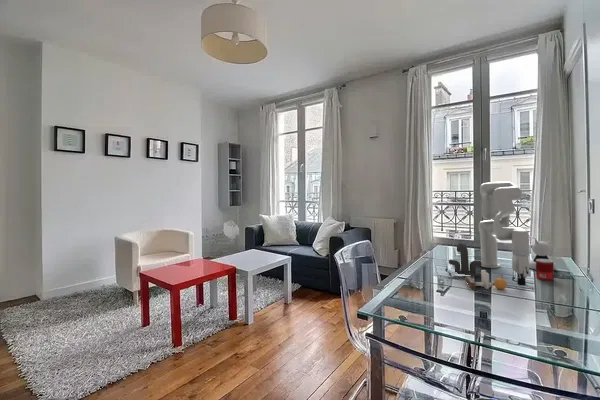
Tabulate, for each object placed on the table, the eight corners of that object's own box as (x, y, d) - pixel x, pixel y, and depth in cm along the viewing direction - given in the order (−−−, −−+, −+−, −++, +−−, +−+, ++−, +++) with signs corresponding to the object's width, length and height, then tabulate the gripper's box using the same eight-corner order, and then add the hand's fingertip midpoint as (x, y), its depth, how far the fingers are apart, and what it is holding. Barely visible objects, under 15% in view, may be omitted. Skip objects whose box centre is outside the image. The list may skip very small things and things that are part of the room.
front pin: (491, 286, 166) (474, 285, 169) (491, 282, 166) (474, 281, 169) (492, 287, 164) (475, 287, 167) (492, 283, 164) (475, 283, 166)
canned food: (557, 280, 167) (556, 261, 167) (541, 280, 169) (540, 262, 168) (548, 276, 175) (548, 258, 174) (533, 276, 177) (532, 258, 176)
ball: (494, 275, 162) (504, 276, 162) (490, 283, 165) (500, 284, 165) (500, 283, 157) (511, 283, 157) (495, 291, 160) (506, 292, 160)
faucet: (475, 269, 197) (474, 240, 196) (483, 277, 182) (482, 245, 181) (445, 269, 202) (444, 240, 201) (451, 276, 186) (449, 245, 185)
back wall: (465, 282, 174) (465, 275, 174) (469, 282, 174) (469, 276, 173) (471, 289, 163) (471, 282, 163) (475, 289, 162) (475, 282, 162)
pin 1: (481, 284, 170) (480, 269, 170) (485, 284, 169) (485, 269, 169) (482, 285, 168) (481, 271, 167) (487, 285, 167) (486, 271, 167)
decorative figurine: (542, 264, 198) (541, 235, 197) (562, 270, 183) (562, 239, 182) (521, 266, 197) (520, 236, 196) (539, 272, 182) (539, 241, 181)
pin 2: (483, 287, 165) (483, 272, 165) (488, 287, 164) (488, 272, 164) (485, 288, 163) (484, 273, 162) (490, 289, 162) (489, 274, 162)
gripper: (507, 249, 168) (508, 280, 169) (518, 255, 154) (519, 289, 155) (522, 249, 166) (523, 280, 167) (535, 255, 152) (536, 290, 153)
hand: (521, 285), depth 161 cm, fingers closed
